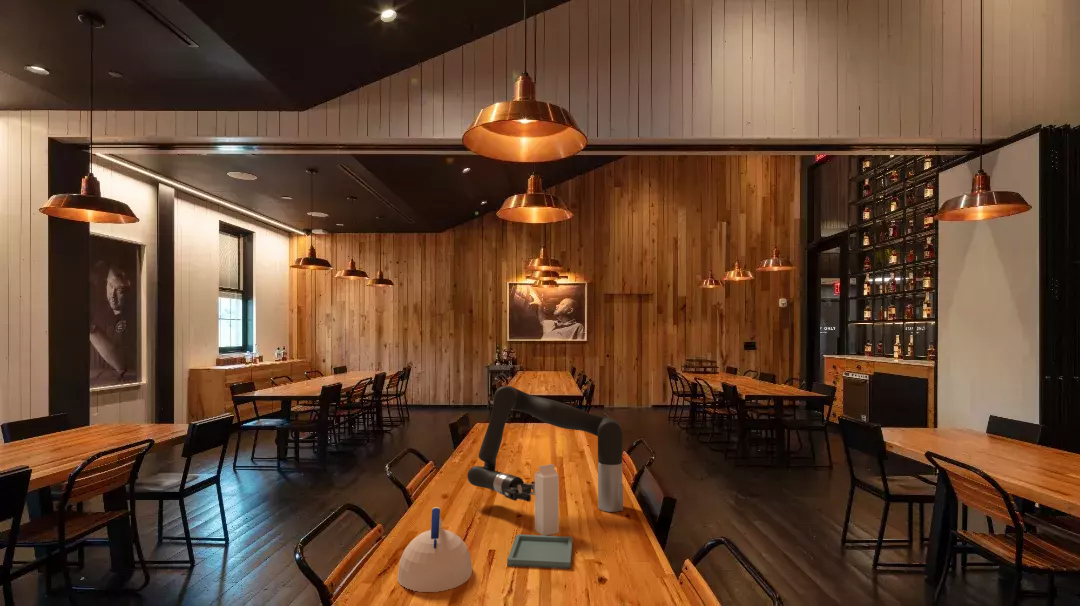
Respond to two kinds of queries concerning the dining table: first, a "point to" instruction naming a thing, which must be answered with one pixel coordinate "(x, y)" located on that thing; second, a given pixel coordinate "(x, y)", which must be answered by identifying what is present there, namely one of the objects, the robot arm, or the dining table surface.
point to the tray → (541, 551)
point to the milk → (547, 500)
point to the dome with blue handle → (435, 560)
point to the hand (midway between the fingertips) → (539, 495)
